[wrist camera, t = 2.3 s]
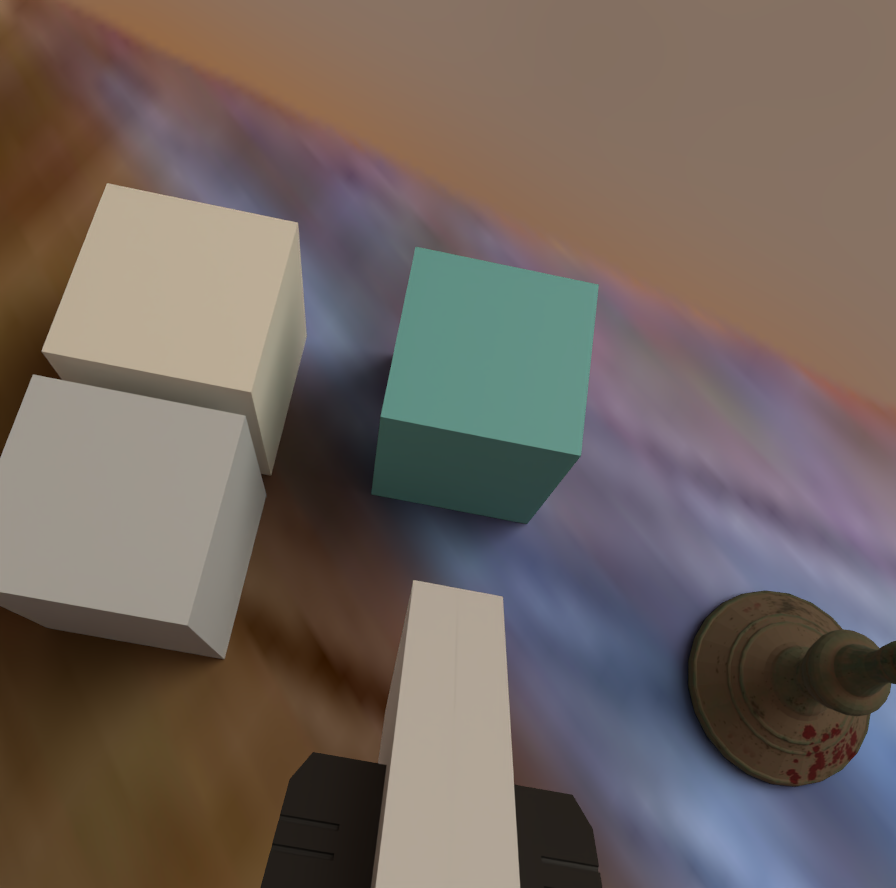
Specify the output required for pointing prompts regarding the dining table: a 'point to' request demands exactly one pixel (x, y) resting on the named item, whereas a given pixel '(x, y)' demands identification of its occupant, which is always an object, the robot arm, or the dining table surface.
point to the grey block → (127, 516)
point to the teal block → (485, 387)
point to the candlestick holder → (785, 687)
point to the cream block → (186, 309)
